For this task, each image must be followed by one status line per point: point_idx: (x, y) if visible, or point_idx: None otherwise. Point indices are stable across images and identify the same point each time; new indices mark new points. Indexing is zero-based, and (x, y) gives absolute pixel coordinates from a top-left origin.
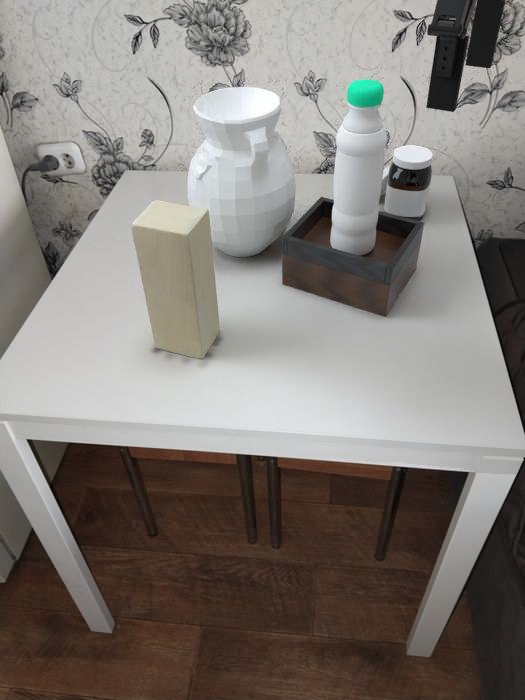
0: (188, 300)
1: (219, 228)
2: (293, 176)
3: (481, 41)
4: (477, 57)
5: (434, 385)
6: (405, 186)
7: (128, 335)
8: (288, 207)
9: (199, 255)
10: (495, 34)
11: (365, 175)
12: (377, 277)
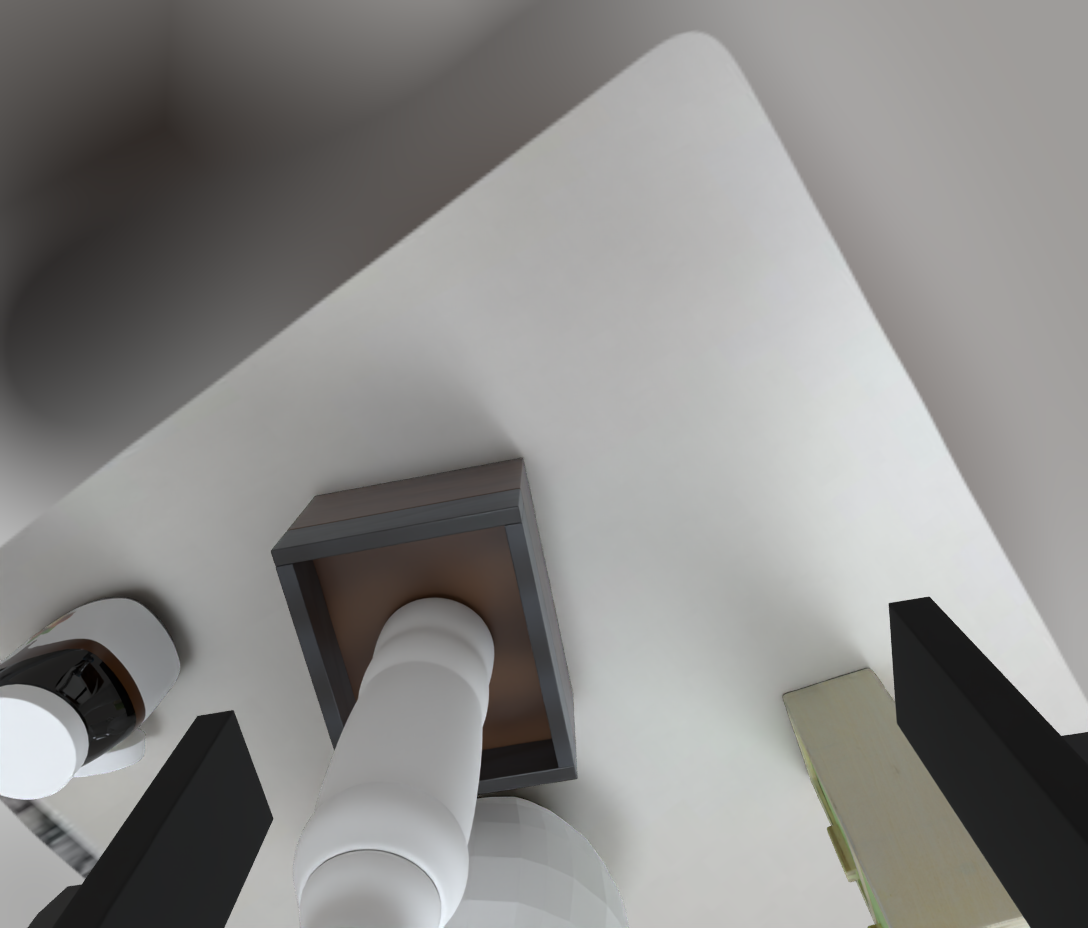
0: None
1: (622, 903)
2: None
3: (204, 870)
4: (238, 807)
5: (654, 254)
6: (123, 684)
7: None
8: None
9: (941, 851)
10: (154, 847)
11: (446, 754)
12: (526, 525)
